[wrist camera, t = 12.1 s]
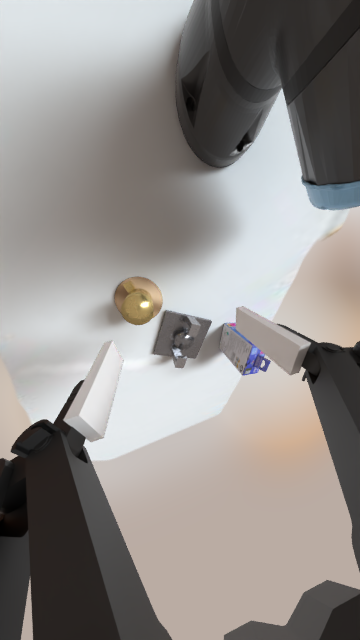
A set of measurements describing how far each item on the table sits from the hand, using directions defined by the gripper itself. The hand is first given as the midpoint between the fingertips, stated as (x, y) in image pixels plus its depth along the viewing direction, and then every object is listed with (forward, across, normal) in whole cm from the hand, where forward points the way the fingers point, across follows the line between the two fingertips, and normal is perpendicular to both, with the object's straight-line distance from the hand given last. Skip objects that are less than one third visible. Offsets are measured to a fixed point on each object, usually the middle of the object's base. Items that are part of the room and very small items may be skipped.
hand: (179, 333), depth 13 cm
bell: (+20, -6, -1) cm, 21 cm away
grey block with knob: (+20, +2, -15) cm, 25 cm away
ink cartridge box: (+21, +18, -20) cm, 34 cm away
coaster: (+20, -6, -1) cm, 21 cm away
